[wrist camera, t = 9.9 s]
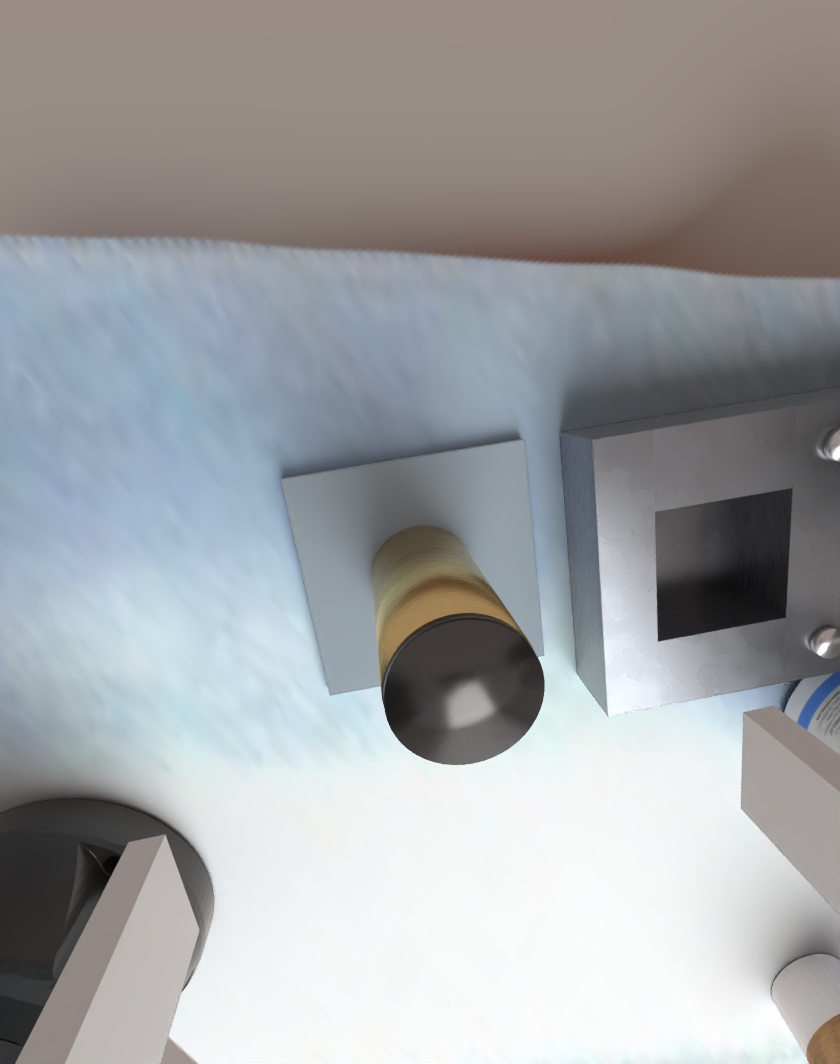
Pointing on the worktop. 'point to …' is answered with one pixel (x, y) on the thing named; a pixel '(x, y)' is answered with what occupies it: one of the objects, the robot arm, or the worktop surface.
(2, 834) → the robot arm
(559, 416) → the worktop surface
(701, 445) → the housing
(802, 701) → the supplement tub
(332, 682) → the mat
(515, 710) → the cylinder
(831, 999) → the coffee cup
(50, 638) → the worktop surface
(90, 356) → the worktop surface
